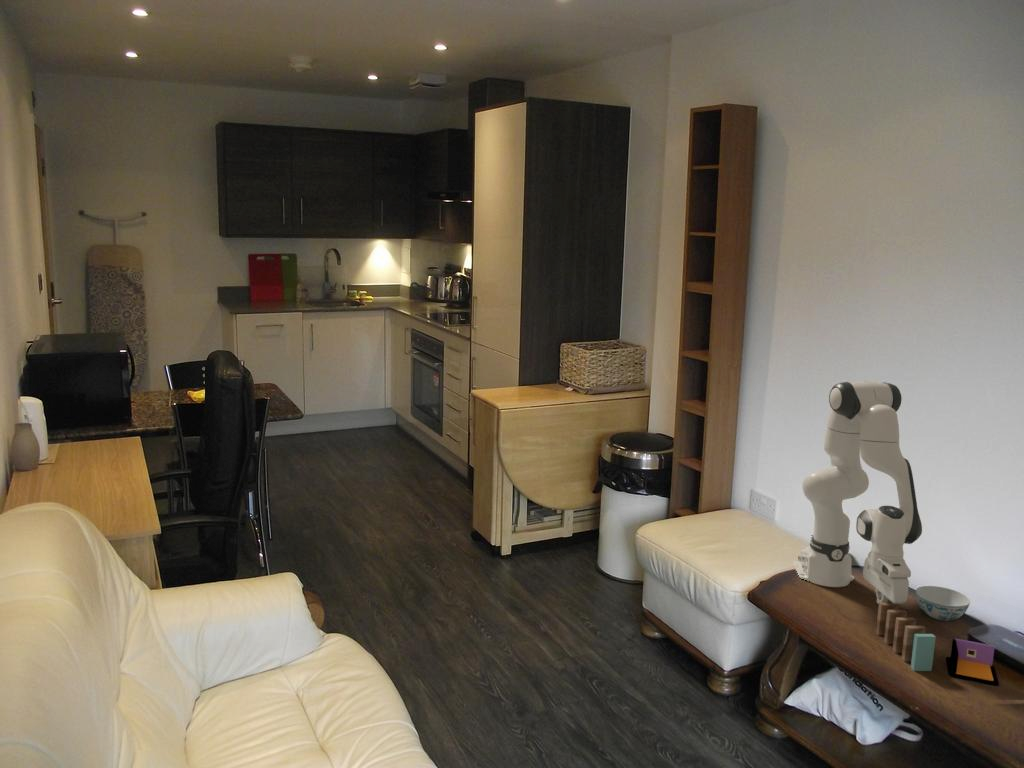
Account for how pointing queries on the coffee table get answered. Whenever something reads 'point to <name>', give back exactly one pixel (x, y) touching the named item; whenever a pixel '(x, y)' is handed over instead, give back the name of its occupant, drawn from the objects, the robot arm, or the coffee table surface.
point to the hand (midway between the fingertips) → (881, 605)
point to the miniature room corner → (972, 662)
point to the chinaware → (942, 602)
